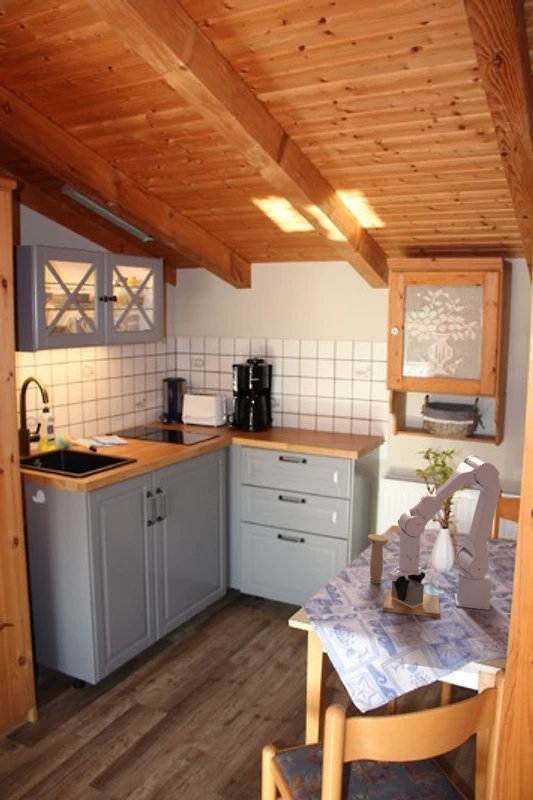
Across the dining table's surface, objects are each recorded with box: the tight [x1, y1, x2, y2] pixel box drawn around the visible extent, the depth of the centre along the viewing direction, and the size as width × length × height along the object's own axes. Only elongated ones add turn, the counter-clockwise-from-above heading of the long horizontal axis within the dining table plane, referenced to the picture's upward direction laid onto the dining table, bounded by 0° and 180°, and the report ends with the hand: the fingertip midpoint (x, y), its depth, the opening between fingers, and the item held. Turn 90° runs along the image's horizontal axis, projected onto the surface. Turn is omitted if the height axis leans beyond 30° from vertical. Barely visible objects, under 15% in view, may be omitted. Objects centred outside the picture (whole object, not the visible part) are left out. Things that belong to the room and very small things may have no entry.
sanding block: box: [391, 576, 425, 609], centre depth 195 cm, size 8×5×6 cm, turn 39°
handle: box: [367, 533, 389, 585], centre depth 210 cm, size 5×6×15 cm
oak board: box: [382, 588, 441, 618], centre depth 196 cm, size 16×12×1 cm
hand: (407, 597), depth 195 cm, fingers closed on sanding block, 5 cm apart
